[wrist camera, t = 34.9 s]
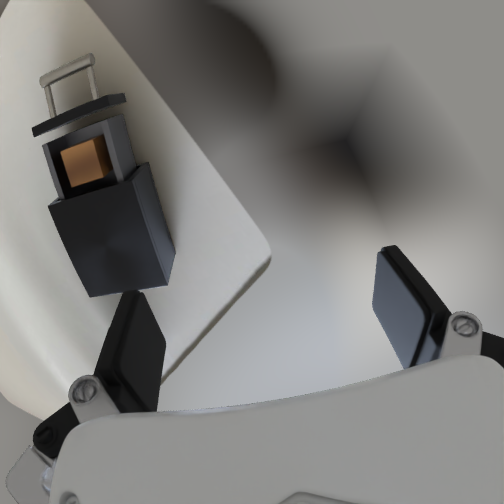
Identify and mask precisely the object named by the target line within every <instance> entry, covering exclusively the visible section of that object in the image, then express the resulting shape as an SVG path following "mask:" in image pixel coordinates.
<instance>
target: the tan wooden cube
mask: <svg viewBox="0 0 504 504" xmlns="http://www.w3.org/2000/svg"><path fill="white" fill-rule="evenodd" d="M61 156H62V159H63V162H64V165H65V169H66V172H67V175H68V178H69V181H70V184H71V187H75V186H78V185H81V184H84V183H87V182H90V181H94V180H97V179H100V178H103V177H105V176H106V175H107V174H108V173H109V172H110V171H112V170H113V169H114V168H113V165H112V161H111V158H110V155H109V151H108V147H107V144H106V140H105V136H104V134H101V135H98V136H95V137H92V138H89V139H87V140H84V141H81V142H79V143H76V144H74V145H72V146H70V147H68V148H66V149H64V150H62V151H61Z"/></svg>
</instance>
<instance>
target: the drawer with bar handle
mask: <svg viewBox="0 0 504 504" xmlns="http://www.w3.org/2000/svg"><path fill="white" fill-rule="evenodd" d="M93 65H95V57H94V55H93V54H92V53H89V54H87V55H84V56H82V57H80V58H78V59H75V60H73V61H71V62H69V63H67V64H65V65H63V66H61V67H59V68H57V69H55V70H53V71H51V72H49V73H47V74H45V75H43V76H41V77H40V80H39V82H40V85H41V87H42V88H44V89H45V94H46V99H47V103H48V108H49V112H50V116H51V119H49V120H47V121H45V122H43V123H41V124H39V125H37V126H35V127H33V128H32V132H33V136H34V137H36V136H39V135H41V134H44V133H46V132H49V131H52V130H54V129H57V128H59V127H62V126H64V125H66V124H69V123H71V122H73V121H76V120H78V119H81V118H83V117H86V116H88V115H91V114H93V113H96V112H99V111H102V110H104V109H107V108H110V107H113V106H116V105H119V104H122V103H125V102H126V97H125V93H120V94H112V95H106V96H103V97H101V98H99V94H98V89H97V84H96V79H95V74H94V69H93ZM86 68H87V73H88V78H89V83H90V87H91V92H92V97H93V101H90V102H88V103H85V104H83V105H80V106H78V107H76V108H73V109H71V110H69V111H66V112H64V113H62V114H60V115H57V114H56V110H55V105H54V101H53V96H52V92H51V87H50V85H52V84H54V83H56V82H58V81H60V80H62V79H64V78H66V77H68V76H70V75H72V74H75V73H77V72H79V71H81V70H84V69H86ZM101 134H104V136H105V140H106V144H107V147H108V151H109V155H110V158H111V161H112V165H113V168H114V169H113V170H112V171H110V172H109V173H108V174H107V175H106V176H105V177H103V178H100V179H97V180H94V181H90V182H87V183H84V184H81V185H78V186H75V187H71V184H70V181H69V178H68V175H67V172H66V169H65V165H64V162H63V159H62V156H61V151H62V150H64V149H66V148H68V147H70V146H72V145H74V144H76V143H79V142H81V141H84V140H87V139H89V138H92V137H95V136H98V135H101ZM42 147H43V150H44V154H45V157H46V160H47V163H48V167H49V170H50V173H51V176H52V179H53V182H54V185H55V188H56V190H57V193H58V196H59V199H60V200H63V199H66V198H69V197H72V196H75V195H78V194H81V193H84V192H88V191H91V190H94V189H98V188H101V187H104V186H108V185H111V184H115V183H118V182H122V181H126V180H128V179H129V178H130V177H131V176H132V175H133V174H134V173H135V171H136V170H137V167H136V163H135V159H134V156H133V152H132V148H131V145H130V141H129V137H128V133H127V129H126V125H125V121H124V117H123V114H121V115H118V116H115V117H112V118H109V119H106V120H103V121H100V122H97V123H95V124H92V125H89V126H87V127H84V128H81V129H79V130H76V131H74V132H71V133H69V134H67V135H64V136H62V137H59V138H57V139H55V140H53V141H50V142H48V143H46V144H44V145H42Z"/></svg>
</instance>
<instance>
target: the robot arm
mask: <svg viewBox="0 0 504 504" xmlns="http://www.w3.org/2000/svg"><path fill="white" fill-rule="evenodd" d="M372 305H373V310H374V312H375V314H376V316H377V318H378V319H379V322H380V323H381V325H382V327H383V329H384V331H385V333H386V335H387V337H388V338H389V341H390V342H391V344H392V346H393V348H394V350H395V352H396V354H397V356H398V358H399V360H400V362H401V364H402V366H403V368H404V370H401V371H398V372H394V373H391V374H387V375H384V376H380V377H377V378H373V379H369V380H366V381H362V382H359V383H354V384H350V385H346V386H342V387H338V388H334V389H329V390H325V391H321V392H316V393H310V394H305V395H301V396H295V397H290V398H284V399H278V400H272V401H265V402H259V403H252V404H244V405H237V406H227V407H218V408H208V409H195V410H180V411H163V412H157V405H158V397H159V390H160V383H161V376H162V369H163V362H164V356H165V350H166V341H165V338H164V336H163V334H162V332H161V330H160V327H159V325H158V323H157V321H156V319H155V317H154V315H153V313H152V310H151V308H150V306H149V304H148V302H147V299H146V297H145V295H144V293H143V292H139V290H137V289H136V290H129V291H124V292H123V294H122V296H121V299H120V302H119V304H118V307H117V309H116V312H115V315H114V317H113V320H112V323H111V326H110V328H109V330H108V332H107V335H106V338H105V341H104V344H103V347H102V350H101V353H100V356H99V359H98V362H97V365H96V368H95V371H94V374H93V375H85V376H82V377H80V378H78V379H77V380H76V381H74V382H73V384H72V385H71V387H70V389H69V393H68V397H69V401H70V402H69V403H67V404H66V405H65V406H63V407H62V408H61V409H59V410H58V411H57V412H55V413H54V414H53V415H51V416H50V417H49V418H47V419H46V420H45V421H43V422H42V423H41V424H40V425H39V426H38V427H37V428H36V430H35V431H34V435H33V442H34V445H33V447H31V446H30V445H29V446H28V448H27V449H26V450H25V452H24V453H23V454H22V456H21V457H20V458H19V460H18V461H17V462H16V463H15V465H14V466H13V467H12V469H11V470H10V471H9V473H8V475H7V477H6V487H7V489H8V491H9V492H10V494H11V495H12V497H13V498H14V499H15V500H16V502H17V503H18V504H504V338H502V337H499V336H496V335H493V334H490V333H487V332H483V331H482V324H481V322H480V320H479V319H478V318H477V317H476V316H475V315H473V314H471V313H469V312H465V311H460V312H455V313H453V314H451V312H450V311H449V310H448V308H447V307H446V305H445V304H444V303H443V302H442V300H441V299H440V298H439V296H438V295H437V294H436V292H435V291H434V290H433V289H432V287H431V286H430V285H429V284H428V282H427V281H426V280H425V279H424V277H423V276H422V275H421V274H420V273H419V272H418V270H417V269H416V268H415V267H414V266H413V264H412V263H411V262H410V261H409V260H408V259H407V257H406V256H405V255H404V254H403V253H402V251H401V250H400V249H399V248H398V247H397V246H396V245H392V246H387V247H383V248H382V249H381V251H380V252H378V254H377V264H376V274H375V284H374V294H373V301H372Z"/></svg>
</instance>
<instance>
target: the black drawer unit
mask: <svg viewBox="0 0 504 504" xmlns="http://www.w3.org/2000/svg"><path fill="white" fill-rule="evenodd" d="M136 167H137V170H136V171H135V173H134V174H133V175H132V176H131V177H130V178H129V179H128V180H126V181H122V182H118V183H115V184H111V185H108V186H104V187H101V188H98V189H94V190H91V191H88V192H84V193H81V194H78V195H75V196H72V197H69V198H66V199H63V200H60V199H59V197H58V198H57V199H56V200H54V201H53V202H52V203H51V204H50V205H49V206H48V208H49V211H50V213H51V216H52V218H53V221H54V223H55V226H56V228H57V230H58V233H59V235H60V237H61V240H62V242H63V244H64V246H65V248H66V251H67V253H68V255H69V257H70V259H71V261H72V263H73V266H74V268H75V270H76V272H77V274H78V276H79V278H80V280H81V282H82V284H83V285H84V287H85V289H86V291H87V293H88V295H89V297H97V296H104V295H110V294H117V293H123V292H124V291H129V290H136V289H137V290H143V289H149V288H155V287H162V286H168V282H169V278H170V274H171V270H172V266H173V262H174V258H175V254H176V253H175V250H174V247H173V244H172V240H171V237H170V234H169V231H168V228H167V225H166V221H165V218H164V215H163V211H162V208H161V205H160V201H159V198H158V195H157V191H156V188H155V184H154V180H153V177H152V173H151V170H150V166H149V163H148V162H147V163H143V164H140V165H136Z"/></svg>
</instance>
